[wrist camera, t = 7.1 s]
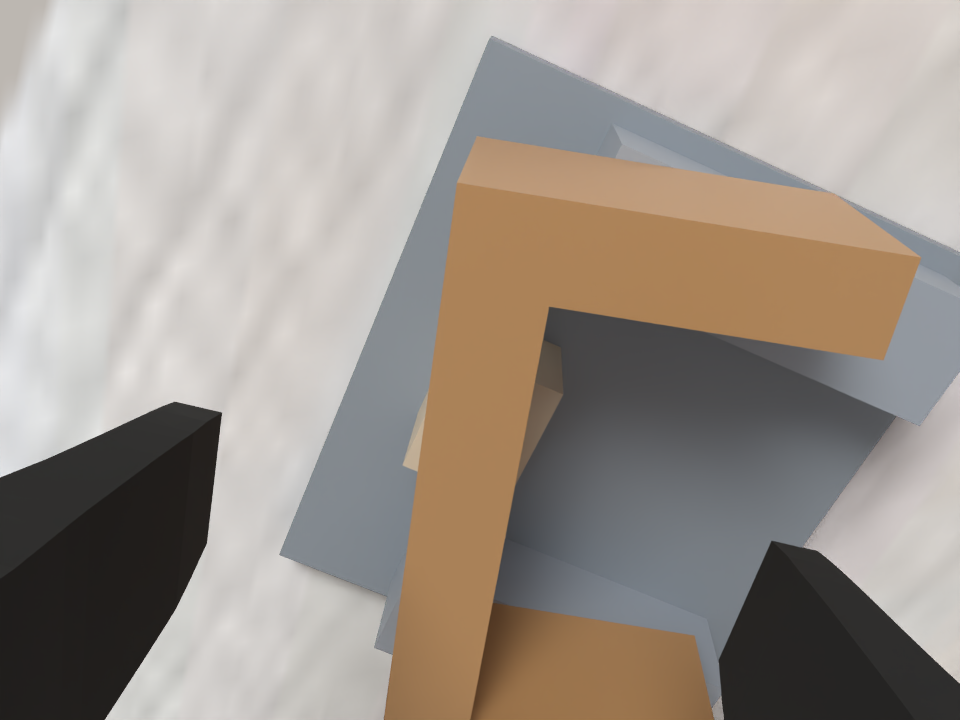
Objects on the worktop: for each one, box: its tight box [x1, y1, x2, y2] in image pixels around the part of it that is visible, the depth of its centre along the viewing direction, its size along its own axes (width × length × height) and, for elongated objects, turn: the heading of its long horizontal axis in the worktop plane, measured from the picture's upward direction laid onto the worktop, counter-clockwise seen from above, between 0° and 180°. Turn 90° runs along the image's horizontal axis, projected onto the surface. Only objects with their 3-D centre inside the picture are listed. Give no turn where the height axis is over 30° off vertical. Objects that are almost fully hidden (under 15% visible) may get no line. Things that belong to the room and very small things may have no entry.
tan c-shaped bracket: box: [384, 136, 921, 720], centre depth 16 cm, size 7×12×4 cm, turn 171°
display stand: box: [279, 36, 960, 708], centre depth 20 cm, size 12×14×4 cm
